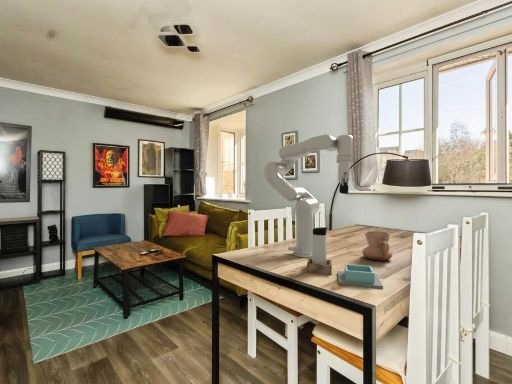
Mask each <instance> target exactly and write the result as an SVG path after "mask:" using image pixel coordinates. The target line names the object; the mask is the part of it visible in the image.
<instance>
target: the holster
mask: <svg viewBox="0 0 512 384" xmlns="http://www.w3.org/2000/svg"><path fill="white" fill-rule="evenodd" d="M332 263H333V262H332V259H327V258H326V265H323V264H312V257H308V258H307V262H306V273H307V274H316V275H317V274H318V275H327V276H328V275H330V276H331V275H332V274H333V273H332V269H333V268H332V267H333V266H332Z"/></svg>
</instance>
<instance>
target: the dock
mask: <svg viewBox="0 0 512 384" xmlns="http://www.w3.org/2000/svg"><path fill="white" fill-rule="evenodd" d="M337 280H338V285H341V286H351V287H362V288H370V289H381V290H382V289H384V285H383V283H382V281H381V280H380V277H379V275H378V274H377V273H375V271H374V269H373V268H372V265H361V264H351V263H349V264H348V263H344V271H342V270H341V271H339V270H337Z"/></svg>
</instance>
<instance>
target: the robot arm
mask: <svg viewBox="0 0 512 384" xmlns="http://www.w3.org/2000/svg"><path fill="white" fill-rule="evenodd" d="M324 150H325V151H329V152H334V151H335V152H336V164H338V166H337V182H338V183H339V190H338V191H339V194H345V195H348V194H349V181H350V170H351V164H352V163H353V136H352V135H350V134H342V135H341V134H340V135H338V136H337V137H335V136H332V135H330V134H321V135H320V134H319V135H317V136H313V137H310V138H309V137H308V139H305V140H303V141H299V142H296V143H295V142H294V143H292V144H286V145H283V146H282V147H280V148H279V150H278V156H279V158H280V159H281V160H280V161H276V160H275V161H274V160H273V161H268V162H267V163H266V164H265V166H264V171H263V173H264V174H263V175H264V178H265V180H266V181H267V183H268V184H269V186H270V187H272V188H273V189H274V190H275V191H276V192H277V193H278V194H279V195H280V196H281V197H282V198H283V199H284V200H285V201H286V202H288V203H295V204H294V212H295V230H296V231H295V246H289V245H288V247H287V250H288V251H292V252H293V253H292V255H293V256H295V257H298V258H307V259H308V258H312V236H313V235H312V234H313V229H314V216H313V215H314V214H316V213H318V211H319V210H320V203H319V201H318V200H317V198H315V197H314V196H313V195H312V194H311V193H310V192H309V191H307V190H306V189H305V188H304V187H302V186H299V185H293V184H291V183H290V182H289V181H288V180H287V179H286V178H285V177H284V176H286V175H287V174H288V173H290V171H291V169H292V168H293V166H294V165H296V164H295V163H296V162H297V161H298V159H300V158H305V157H308V156H309V154H311V153H314V152H317V151H324Z"/></svg>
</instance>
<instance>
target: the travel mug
mask: <svg viewBox="0 0 512 384" xmlns="http://www.w3.org/2000/svg"><path fill="white" fill-rule="evenodd" d="M327 230H328V227H327V226H326V227H323V226H322V227H321V226H319V227H313V234H312V235H313V236H312V257H311V258H312V264H323V265H326V259H327Z"/></svg>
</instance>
